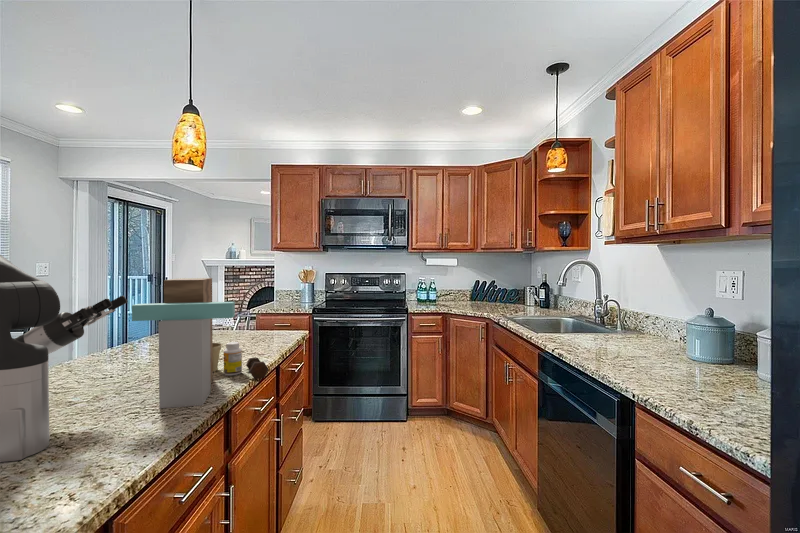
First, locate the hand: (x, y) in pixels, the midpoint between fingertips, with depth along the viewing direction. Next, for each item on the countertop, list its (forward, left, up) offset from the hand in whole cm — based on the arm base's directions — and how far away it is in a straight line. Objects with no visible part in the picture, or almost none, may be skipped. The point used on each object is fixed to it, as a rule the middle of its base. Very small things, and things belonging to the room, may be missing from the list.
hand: (118, 300), depth 104 cm
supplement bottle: (+24, -24, -27) cm, 44 cm away
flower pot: (+30, -15, -27) cm, 43 cm away
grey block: (0, -16, -27) cm, 32 cm away
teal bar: (0, -16, -5) cm, 17 cm away
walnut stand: (+12, -14, -27) cm, 33 cm away
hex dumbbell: (+24, -31, -28) cm, 48 cm away
